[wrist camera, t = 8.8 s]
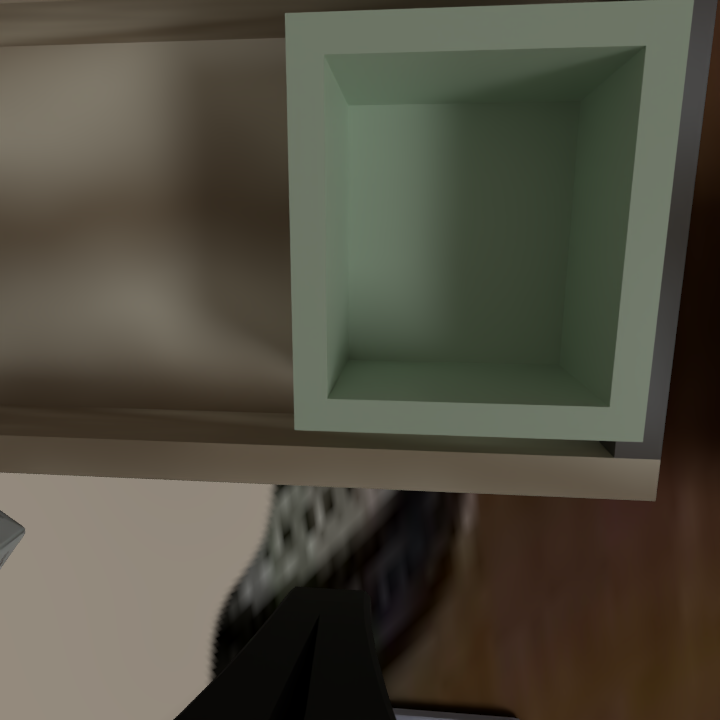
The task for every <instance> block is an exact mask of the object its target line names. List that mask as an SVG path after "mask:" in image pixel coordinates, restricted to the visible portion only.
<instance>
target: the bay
mask: <svg viewBox="0 0 720 720" xmlns="http://www.w3.org/2000/svg"><path fill="white" fill-rule="evenodd" d="M613 1H641V0H0V472H4V473H5V472H6V473H27V474H50V475H74V476H95V477H119V478H142V479H164V480H187V481H188V480H189V481H210V482H233V483H255V484H256V483H257V484H278V485H301V486H324V487H347V488H369V489H392V490H415V491H438V492H461V493H484V494H506V495H529V496H552V497H575V498H598V499H621V500H643V501H655V500H656V492H657V484H658V476H659V468H660V460H661V452H662V444H663V436H664V428H665V420H666V412H667V403H668V395H669V387H670V379H671V371H672V363H673V355H674V347H675V339H676V331H677V323H678V315H679V307H680V299H681V290H682V282H683V274H684V266H685V258H686V250H687V242H688V234H689V226H690V218H691V210H692V202H693V194H694V185H695V177H696V169H697V161H698V153H699V145H700V137H701V129H702V121H703V113H704V105H705V97H706V89H707V81H708V72H709V64H710V56H711V48H712V40H713V32H714V24H715V16H716V8H717V0H694V6H693V14H692V23H691V32H690V40H689V49H688V57H687V66H686V75H685V83H684V92H683V101H682V109H681V118H680V126H679V135H678V144H677V152H676V161H675V170H674V178H673V187H672V195H671V204H670V213H669V221H668V230H667V239H666V247H665V256H664V264H663V273H662V282H661V290H660V299H659V308H658V316H657V325H656V333H655V342H654V351H653V359H652V368H651V377H650V385H649V394H648V402H647V411H646V420H645V428H644V437H643V442H623V441H594V440H565V439H536V438H507V437H478V436H449V435H420V434H391V433H362V432H334V431H305V430H294V387H293V344H292V300H291V257H290V213H289V170H288V126H287V83H286V39H285V13H302V12H330V11H358V10H387V9H415V8H443V7H471V6H500V5H528V4H556V3H584V2H613Z"/></svg>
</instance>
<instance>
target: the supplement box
mask: <svg viewBox="0 0 720 720" xmlns="http://www.w3.org/2000/svg"><path fill="white" fill-rule="evenodd" d="M24 534H25V528H24V527H23V526H22V525H20V524H19V523H17V522H16V521H15V520H13V519H12V518H10V517H9V516H7V515H6V514H5V513H3V512H2V511H0V569H1V567H2V566H3V564H4V563H5V561H6V560H7V559H8V557H9V556H10V554H11V553H12V551H13V550H14V549H15V547H16V546H17V544H18V543H19V542H20V540H21V538H22V537H23V536H24Z"/></svg>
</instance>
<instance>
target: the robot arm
mask: <svg viewBox="0 0 720 720" xmlns="http://www.w3.org/2000/svg"><path fill="white" fill-rule="evenodd" d="M174 720H519V719H517V718H511V717H499V716H486V715H474V714H461V713H449V712H436V711H424V710H411V709H399V708H392V705H391V702H390V699H389V696H388V693H387V690H386V686H385V683H384V679H383V675H382V672H381V668H380V665H379V661H378V657H377V653H376V648H375V643H374V638H373V633H372V626H371V597H370V596H369V595H368V594H367V593H366V592H365V591H358V590H341V589H325V588H308V587H295V588H294V589H292V590H291V591H290V592H289V593H288V595H287V596H286V597H285V598H284V600H283V601H282V602H281V603H280V605H279V606H278V607H277V608H276V610H275V611H274V612H273V613H272V615H271V616H270V617H269V618H268V619H267V621H266V622H265V623H264V624H263V625H262V627H261V628H260V629H259V630H258V631H257V633H256V634H255V635H254V636H253V637H252V638H251V640H250V641H249V642H248V643H247V644H246V645H245V646H244V647H243V648H242V650H241V651H240V652H239V653H238V654H237V655H236V656H235V657H234V658H233V660H232V661H231V662H230V663H229V664H228V665H227V666H226V667H225V668H224V670H223V671H222V672H221V673H220V674H219V675H218V676H217V677H216V678H215V679H214V680H213V681H212V682H211V683H210V684H209V685H208V686H207V687H206V688H205V689H204V690H203V691H202V692H201V693H200V694H199V695H198V696H197V697H196V698H195V699H194V700H193V701H192V702H191V703H190V704H189V705H188V706H187V707H186V708H185V709H184V710H183V711H182V712H181V713H180V714H179V715H178V716H177V717H176V718H175V719H174Z"/></svg>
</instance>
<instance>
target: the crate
mask: <svg viewBox="0 0 720 720" xmlns="http://www.w3.org/2000/svg"><path fill="white" fill-rule="evenodd" d="M693 6H694V0H641V1H613V2H584V3H556V4H528V5H500V6H471V7H443V8H415V9H387V10H358V11H330V12H302V13H285V39H286V83H287V126H288V170H289V213H290V257H291V300H292V344H293V387H294V430H305V431H334V432H362V433H391V434H420V435H449V436H478V437H507V438H536V439H565V440H594V441H623V442H643V437H644V428H645V420H646V411H647V402H648V394H649V385H650V377H651V368H652V359H653V351H654V342H655V333H656V325H657V316H658V308H659V299H660V290H661V282H662V273H663V264H664V256H665V247H666V239H667V230H668V221H669V213H670V204H671V195H672V187H673V178H674V170H675V161H676V152H677V144H678V135H679V126H680V118H681V109H682V101H683V92H684V83H685V75H686V66H687V57H688V49H689V40H690V32H691V23H692V14H693Z"/></svg>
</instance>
